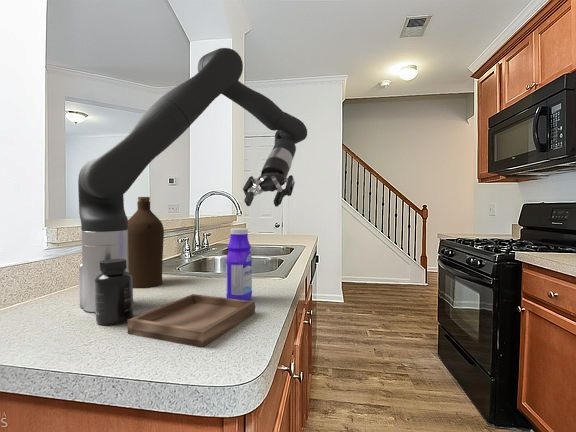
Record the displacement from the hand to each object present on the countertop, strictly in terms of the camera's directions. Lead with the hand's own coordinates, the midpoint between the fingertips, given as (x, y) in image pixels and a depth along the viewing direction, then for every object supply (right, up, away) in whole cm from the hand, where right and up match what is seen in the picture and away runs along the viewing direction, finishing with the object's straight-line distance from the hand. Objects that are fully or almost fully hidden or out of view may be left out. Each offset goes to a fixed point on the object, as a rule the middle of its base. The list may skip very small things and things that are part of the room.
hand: (261, 204), depth 95 cm
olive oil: (-34, -23, +5) cm, 41 cm away
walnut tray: (-11, -24, -26) cm, 37 cm away
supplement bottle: (-27, -24, -25) cm, 44 cm away
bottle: (-5, -24, -10) cm, 26 cm away
